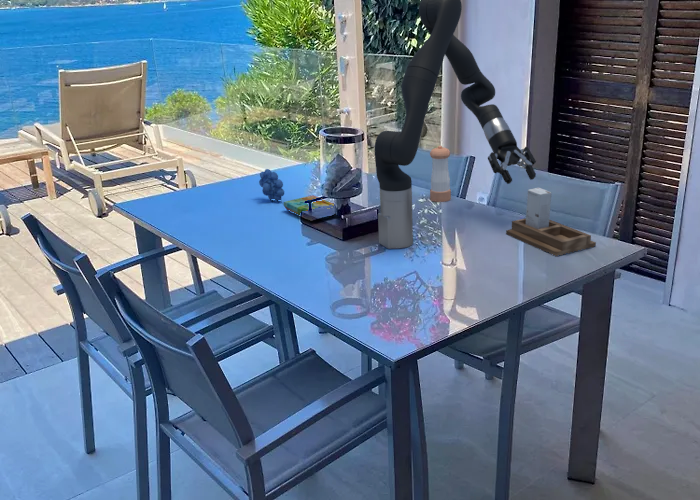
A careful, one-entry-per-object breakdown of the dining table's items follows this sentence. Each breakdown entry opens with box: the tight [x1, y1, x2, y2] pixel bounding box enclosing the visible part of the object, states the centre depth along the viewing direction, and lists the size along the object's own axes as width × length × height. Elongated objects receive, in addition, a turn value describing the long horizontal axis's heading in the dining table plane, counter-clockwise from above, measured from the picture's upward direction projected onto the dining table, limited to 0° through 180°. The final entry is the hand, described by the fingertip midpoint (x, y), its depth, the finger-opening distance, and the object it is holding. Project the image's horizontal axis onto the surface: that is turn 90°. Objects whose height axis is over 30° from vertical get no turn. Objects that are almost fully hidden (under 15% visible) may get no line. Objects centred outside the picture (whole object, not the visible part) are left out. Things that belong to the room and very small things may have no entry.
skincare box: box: [525, 187, 552, 229], centre depth 201 cm, size 6×4×12 cm
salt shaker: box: [429, 145, 452, 203], centre depth 240 cm, size 7×7×19 cm
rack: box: [505, 217, 597, 257], centre depth 198 cm, size 14×22×4 cm, turn 25°
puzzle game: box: [282, 194, 335, 215], centre depth 234 cm, size 12×5×20 cm
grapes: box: [258, 168, 285, 201], centre depth 250 cm, size 12×7×12 cm, turn 53°
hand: (521, 180), depth 205 cm, fingers open, 8 cm apart
